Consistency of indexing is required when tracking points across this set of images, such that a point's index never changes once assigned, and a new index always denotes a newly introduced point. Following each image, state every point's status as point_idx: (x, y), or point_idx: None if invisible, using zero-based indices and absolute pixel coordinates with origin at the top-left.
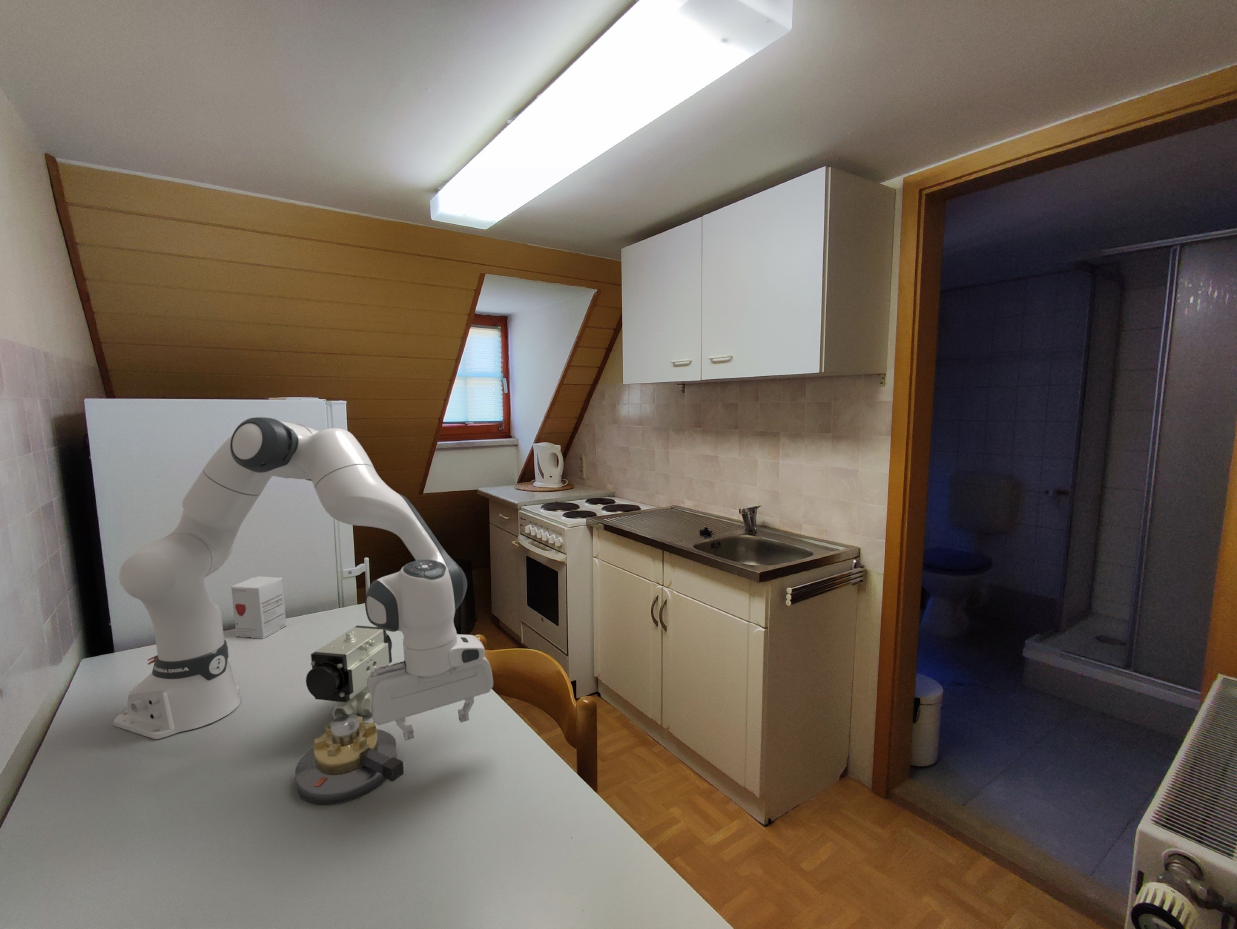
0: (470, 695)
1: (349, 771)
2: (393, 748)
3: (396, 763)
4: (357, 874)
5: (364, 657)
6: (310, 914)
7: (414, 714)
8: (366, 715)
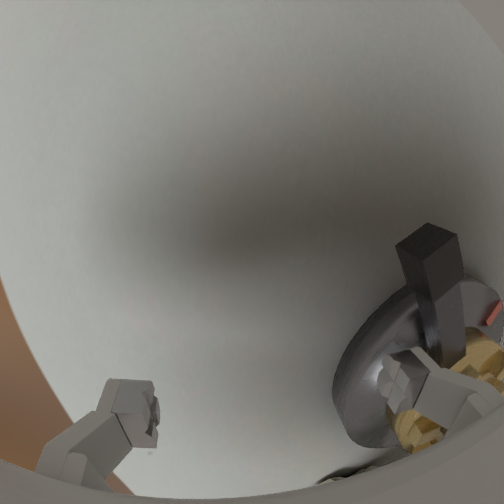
0: (34, 489)
1: None
2: (363, 384)
3: (438, 260)
4: (453, 52)
5: None
6: (489, 42)
7: (467, 427)
8: (335, 477)
